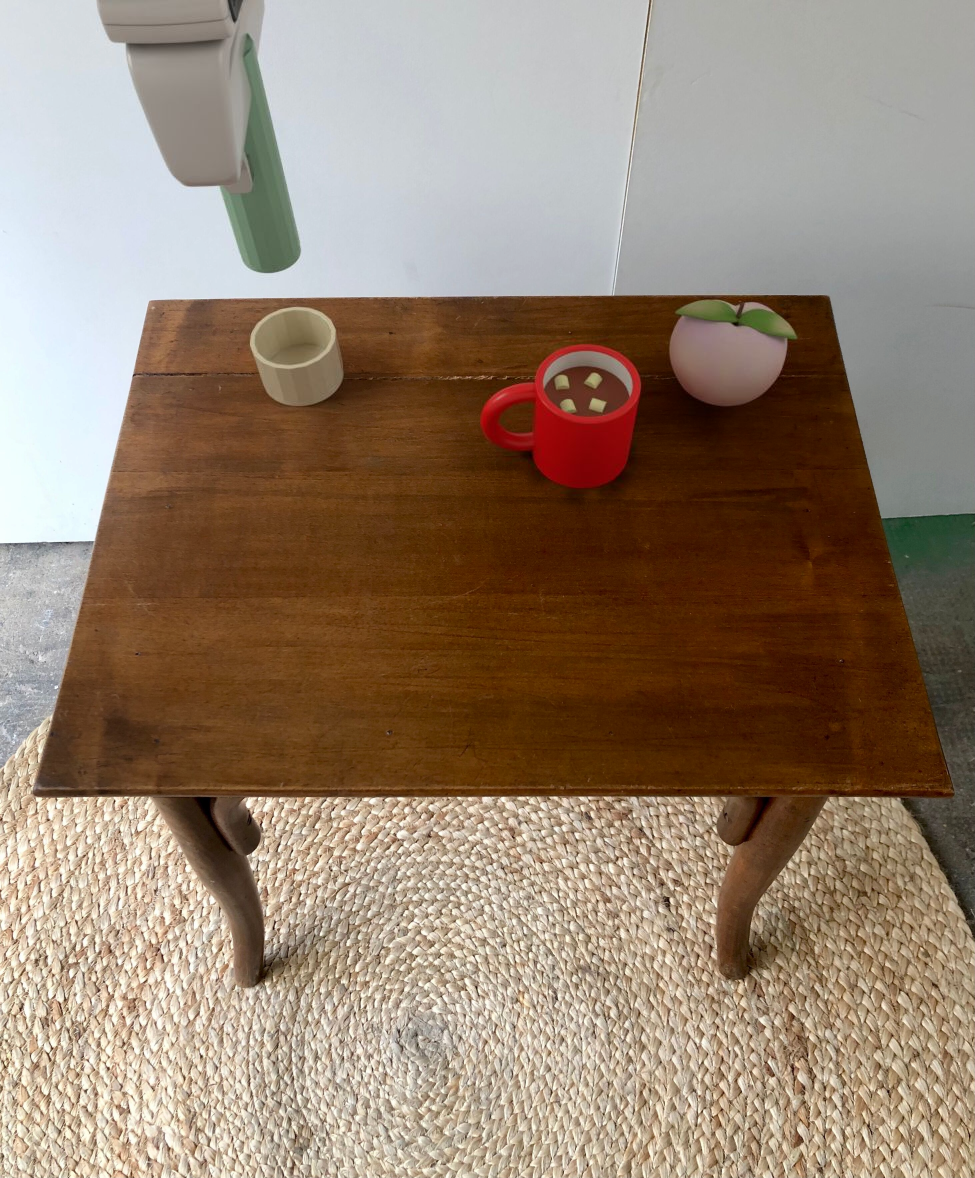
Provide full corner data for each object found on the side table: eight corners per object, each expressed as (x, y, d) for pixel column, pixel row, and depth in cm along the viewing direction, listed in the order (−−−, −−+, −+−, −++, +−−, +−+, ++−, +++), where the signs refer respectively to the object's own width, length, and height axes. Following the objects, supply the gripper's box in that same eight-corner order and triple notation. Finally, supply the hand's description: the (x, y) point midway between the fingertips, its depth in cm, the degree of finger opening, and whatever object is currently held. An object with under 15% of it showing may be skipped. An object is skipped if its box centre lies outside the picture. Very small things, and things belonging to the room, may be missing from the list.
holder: (259, 408, 76) (246, 370, 72) (265, 347, 80) (253, 308, 76) (342, 404, 76) (333, 366, 73) (345, 344, 80) (337, 304, 76)
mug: (477, 420, 75) (474, 351, 69) (620, 409, 76) (631, 339, 69) (485, 496, 71) (484, 431, 65) (636, 484, 72) (650, 417, 65)
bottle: (239, 274, 66) (151, -5, 50) (244, 234, 68) (162, -45, 52) (299, 272, 66) (232, -8, 50) (302, 232, 68) (239, -49, 52)
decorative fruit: (659, 431, 74) (679, 340, 66) (660, 358, 79) (679, 264, 70) (774, 439, 74) (810, 349, 65) (769, 365, 78) (803, 272, 69)
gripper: (150, -160, 54) (214, 72, 66) (90, 28, 43) (178, 263, 55) (256, -164, 54) (301, 69, 66) (221, 23, 44) (281, 259, 55)
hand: (245, 159), depth 61 cm, fingers closed on bottle, 4 cm apart
